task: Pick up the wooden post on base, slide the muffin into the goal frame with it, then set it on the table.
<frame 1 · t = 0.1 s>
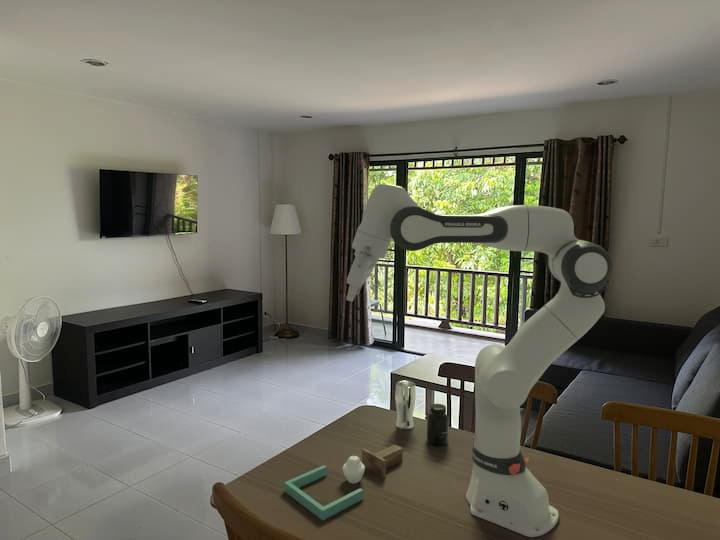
hand: (352, 297, 124), 52 cm above the table, tool tilted 20°, fingers open, 8 cm apart
goal frame: (325, 494, 127), on the table
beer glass: (404, 426, 169), on the table
wooden post on base: (386, 464, 143), on the table
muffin: (353, 481, 134), on the table
supplement bottle: (437, 442, 157), on the table
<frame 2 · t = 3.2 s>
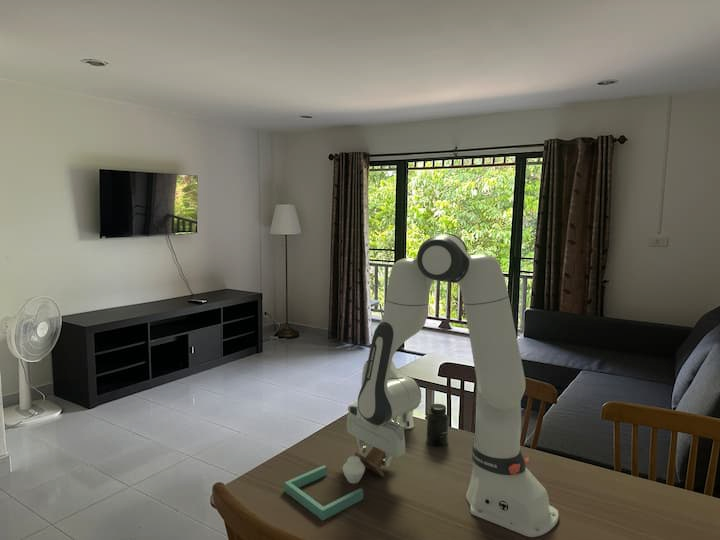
hand: (374, 458, 140), 3 cm above the table, tool pointing down, fingers open, 8 cm apart
wooden post on base: (384, 454, 142), point 3 cm above the table, tilted 36°
everything else where it was.
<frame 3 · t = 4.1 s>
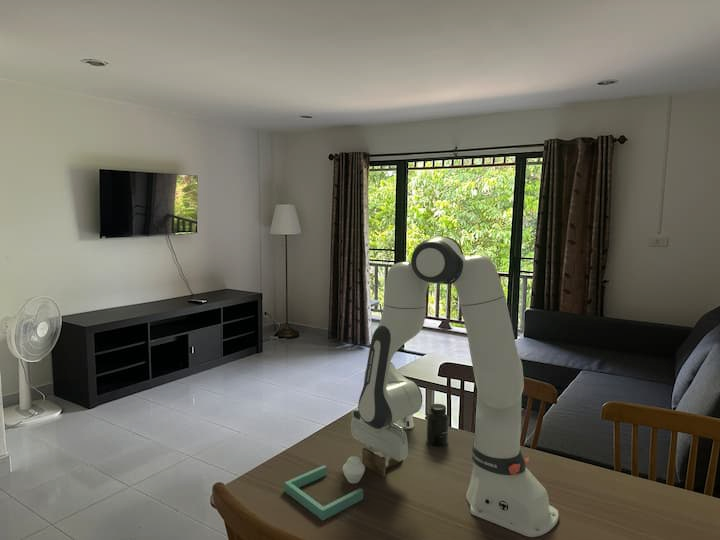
hand: (378, 462, 140), 2 cm above the table, tool pointing down, fingers open, 3 cm apart
wooden post on base: (387, 464, 143), on the table, touching gripper
everything else where it was.
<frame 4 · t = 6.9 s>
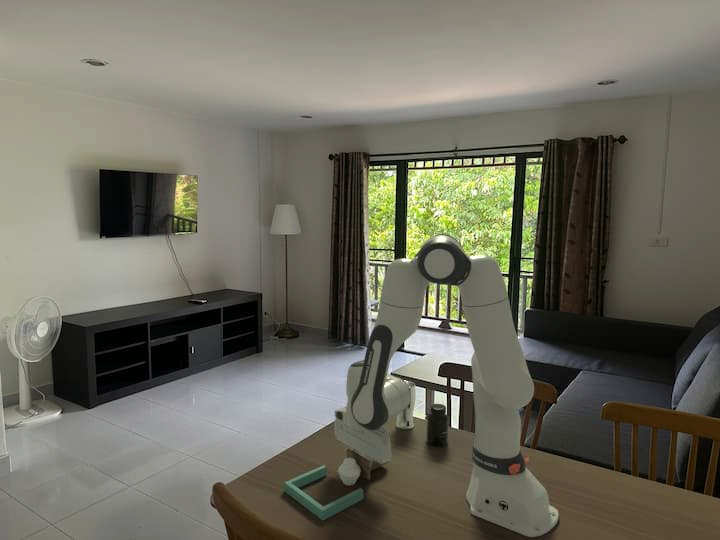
hand: (361, 465, 136), 3 cm above the table, tool pointing down, fingers closed on wooden post on base, 3 cm apart
wooden post on base: (372, 466, 139), point 1 cm above the table, touching gripper, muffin
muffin: (349, 483, 133), on the table, touching wooden post on base
everything else where it was.
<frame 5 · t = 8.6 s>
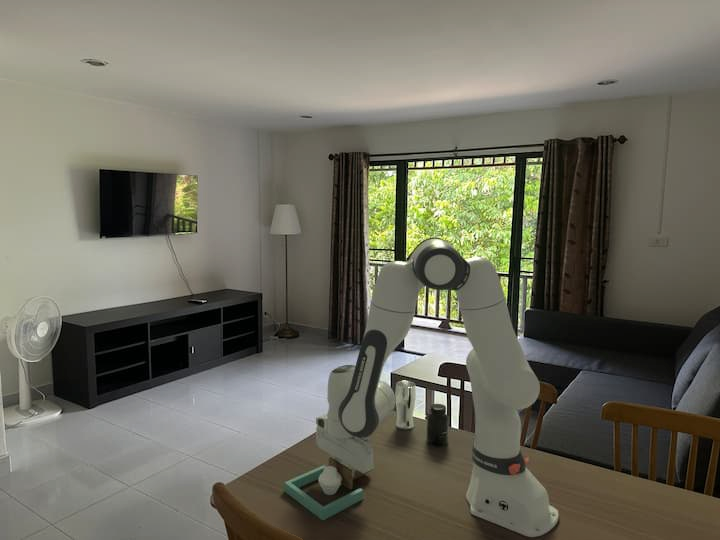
hand: (343, 474, 131), 3 cm above the table, tool pointing down, fingers closed on wooden post on base, 3 cm apart
wooden post on base: (355, 474, 134), point 1 cm above the table, touching gripper, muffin
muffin: (330, 492, 129), on the table, touching wooden post on base
everything else where it was.
when the fingers open (3 cm above the table, at t = 14.7 s): wooden post on base stays where it is, on the table.
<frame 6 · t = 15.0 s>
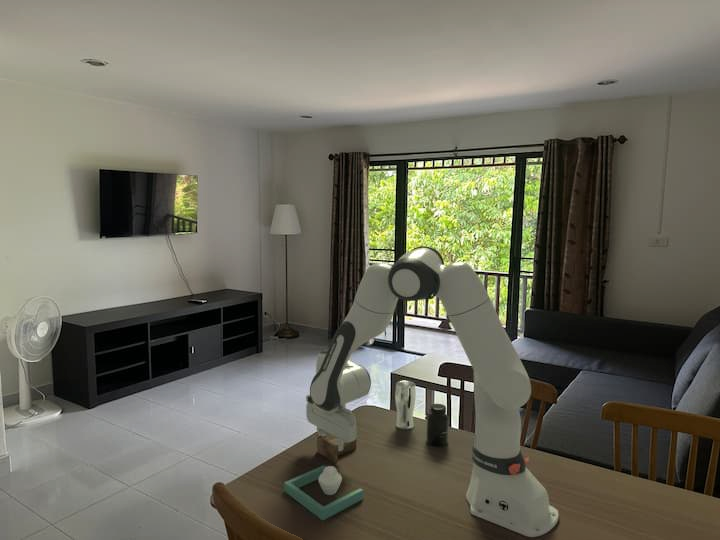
hand: (331, 445, 147), 3 cm above the table, tool pointing down, fingers open, 7 cm apart
wooden post on base: (340, 451, 150), on the table
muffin: (330, 492, 129), on the table
everything else where it was.
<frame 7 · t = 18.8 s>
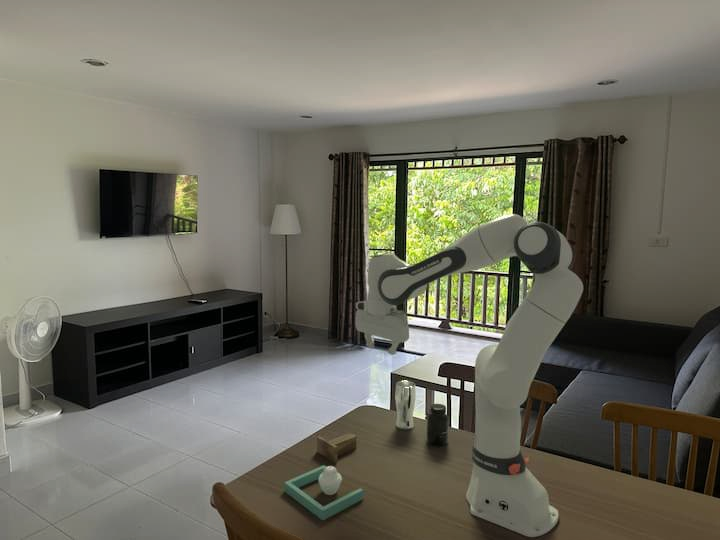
hand: (381, 350, 150), 31 cm above the table, tool pointing down, fingers open, 8 cm apart
nothing on the table moved.
at the end: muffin inside the target area on the goal frame (2.3 cm from its centre), point 0.0 cm above the goal frame's base; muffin tilted 0°; wooden post on base inside the target area (0.4 cm from its centre), on the table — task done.
